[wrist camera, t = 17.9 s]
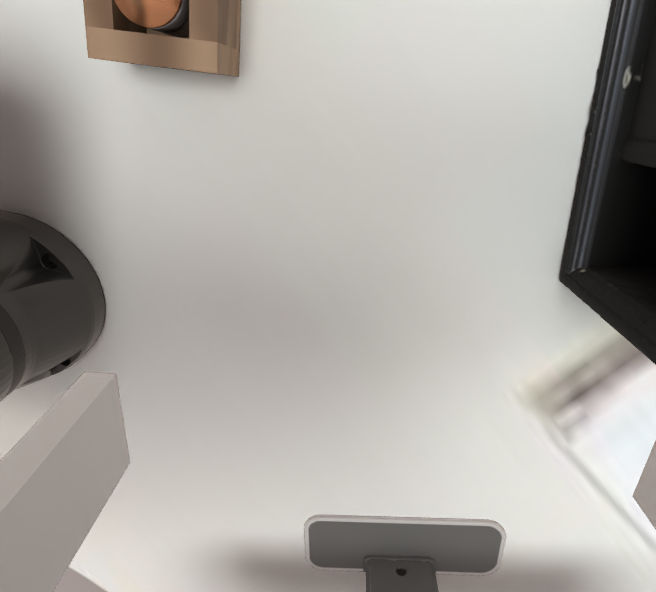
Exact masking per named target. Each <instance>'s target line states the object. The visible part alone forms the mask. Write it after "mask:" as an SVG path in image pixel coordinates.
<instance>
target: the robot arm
mask: <svg viewBox="0 0 656 592" xmlns="http://www.w3.org/2000/svg"><path fill="white" fill-rule="evenodd" d="M104 317H105V303H104V297H103V292H102V289H101V286H100V283H99V280H98V278H97V276H96V274H95V272H94V270H93V269H92V267H91V265H90V264H89V262H88V261H87V259H86V258H85V257H84V256H83V254H82V253H81V252H80V251H79V250H78V249H77V248H76V247H75V246H74V245H73V244H72V243H71V242H70V241H69V240H68V239H67V238H65V237H64V236H63V235H62V234H60V233H59V232H57V231H56V230H54V229H53V228H51V227H49V226H48V225H46V224H44V223H42V222H40V221H38V220H35V219H33V218H30V217H27V216H24V215H20V214H16V213H10V212H0V402H1V401H2V400H3V399H4V398H5V397H6V396H7V395H9V394H10V393H11V392H12V391H13V390H15V389H18V388H20V387H23V386H26V385H28V384H31V383H33V382H36V381H38V380H41V379H43V378H46V377H49V376H51V375H54V374H56V373H59V372H61V371H63V370H65V369H67V368H68V367H70V366H71V365H73V364H74V363H75V362H77V361H78V360H79V359H80V358H81V357H82V356H83V355H84V354H85V353H86V352H87V351H88V350H89V349H90V348H91V347H92V346H93V345H94V343H95V342H96V340H97V339H98V337H99V335H100V333H101V330H102V327H103V323H104ZM129 464H130V458H129V451H128V445H127V439H126V433H125V427H124V420H123V414H122V408H121V402H120V395H119V389H118V383H117V377H116V374H110V373H94V372H84V373H83V374H82V375H81V376H80V377H79V378H78V379H77V380H76V381H75V383H74V384H73V385H72V386H71V387H70V388H69V389H68V390H67V391H66V392H65V393H64V394H63V395H62V396H61V397H60V398H59V399H58V400H57V401H56V402H55V404H54V405H53V406H52V407H51V408H50V409H49V410H48V411H47V412H46V413H45V414H44V415H43V416H42V417H41V418H40V419H39V420H38V421H37V422H36V424H35V425H34V426H33V427H32V428H31V429H30V430H29V431H28V432H27V433H26V434H25V435H24V436H23V437H22V438H21V439H20V440H19V441H18V442H17V443H16V445H15V446H14V447H13V448H12V449H11V450H10V451H9V452H8V453H7V454H6V455H5V456H4V457H3V458H2V459H1V460H0V592H53V591H54V590H55V588H56V586H57V584H58V583H59V581H60V580H61V578H62V576H63V575H64V573H65V571H66V569H67V568H68V566H69V564H70V563H71V561H72V559H73V558H74V556H75V554H76V553H77V551H78V549H79V548H80V546H81V544H82V543H83V541H84V539H85V538H86V536H87V534H88V533H89V531H90V529H91V527H92V526H93V524H94V522H95V521H96V519H97V517H98V516H99V514H100V512H101V511H102V509H103V507H104V506H105V504H106V502H107V501H108V499H109V497H110V496H111V494H112V492H113V490H114V489H115V487H116V485H117V484H118V482H119V480H120V479H121V477H122V475H123V474H124V472H125V470H126V469H127V467H128V465H129ZM633 498H634V499H635V501H636V502H637V503H638V505H639V506H640V508H641V509H642V511H643V512H644V513H645V515H646V516H647V518H648V519H649V521H650V522H651V523H652V525H653V526H654V528H655V529H656V441H655V443H654V446H653V448H652V450H651V453H650V455H649V458H648V460H647V462H646V465H645V467H644V470H643V472H642V475H641V477H640V479H639V482H638V484H637V487H636V489H635V491H634V494H633Z"/></svg>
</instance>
